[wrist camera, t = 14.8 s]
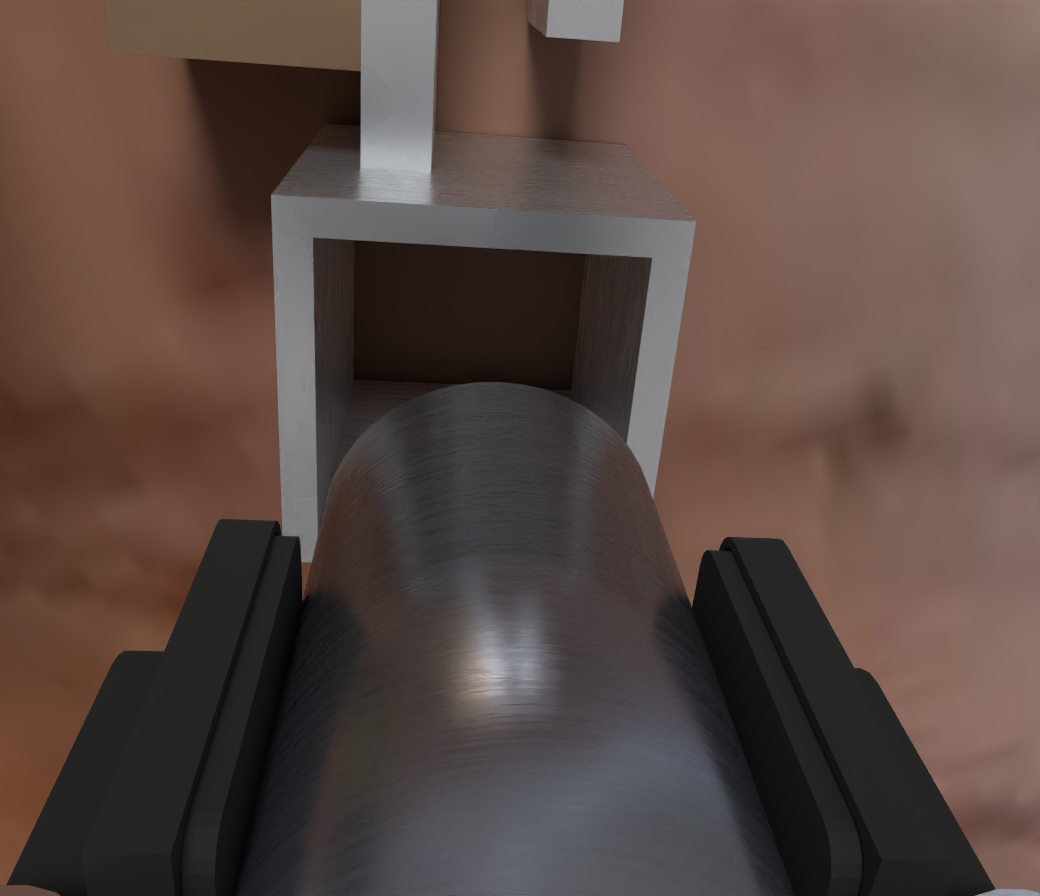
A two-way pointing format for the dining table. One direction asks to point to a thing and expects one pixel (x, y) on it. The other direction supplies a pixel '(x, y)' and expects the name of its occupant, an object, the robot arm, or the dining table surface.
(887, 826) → the robot arm
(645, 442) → the hinge base
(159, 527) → the dining table surface
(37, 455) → the dining table surface
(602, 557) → the pin
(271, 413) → the dining table surface
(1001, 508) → the dining table surface
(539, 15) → the leaf loose
